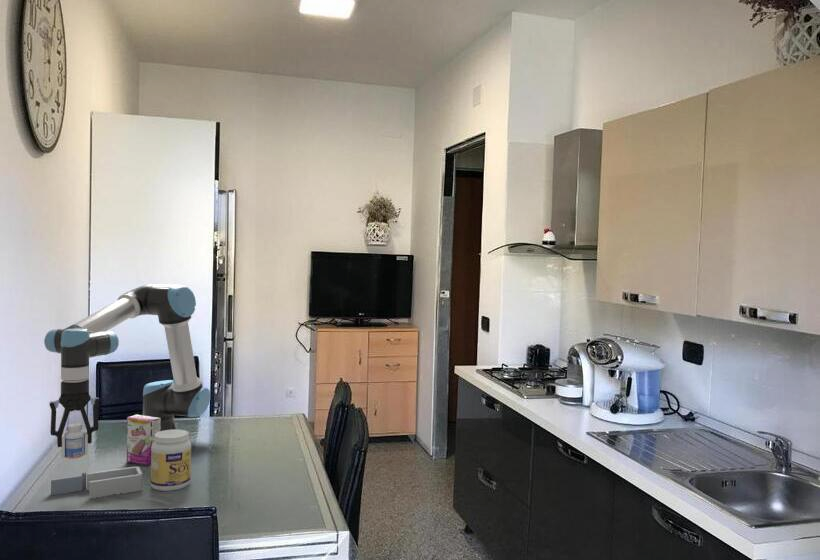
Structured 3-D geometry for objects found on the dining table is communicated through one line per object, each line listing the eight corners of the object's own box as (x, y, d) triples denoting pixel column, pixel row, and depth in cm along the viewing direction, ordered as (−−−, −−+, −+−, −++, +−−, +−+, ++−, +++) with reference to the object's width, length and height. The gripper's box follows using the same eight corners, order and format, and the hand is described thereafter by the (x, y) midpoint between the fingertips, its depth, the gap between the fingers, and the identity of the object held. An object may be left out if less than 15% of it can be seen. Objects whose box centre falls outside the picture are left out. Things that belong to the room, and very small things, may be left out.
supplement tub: (166, 495, 193) (167, 441, 193) (142, 486, 200) (142, 434, 199) (198, 483, 204) (199, 432, 203) (174, 476, 210) (175, 426, 210)
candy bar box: (125, 462, 222) (126, 417, 222) (136, 458, 227) (136, 413, 226) (151, 467, 218) (151, 420, 218) (161, 462, 223) (161, 417, 223)
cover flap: (86, 489, 196) (86, 473, 196) (50, 495, 191) (51, 478, 191) (85, 488, 197) (86, 472, 197) (50, 494, 192) (50, 477, 192)
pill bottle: (69, 453, 193) (69, 422, 193) (87, 453, 193) (87, 422, 193) (60, 459, 188) (61, 427, 187) (79, 459, 188) (79, 427, 188)
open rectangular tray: (138, 481, 205) (138, 466, 204) (142, 490, 197) (143, 474, 197) (86, 489, 197) (86, 473, 196) (89, 498, 189) (89, 482, 189)
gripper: (107, 375, 198) (106, 448, 198) (39, 380, 188) (39, 456, 189) (109, 379, 191) (109, 454, 192) (40, 384, 182) (39, 463, 182)
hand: (74, 455), depth 190 cm, fingers closed on pill bottle, 5 cm apart
